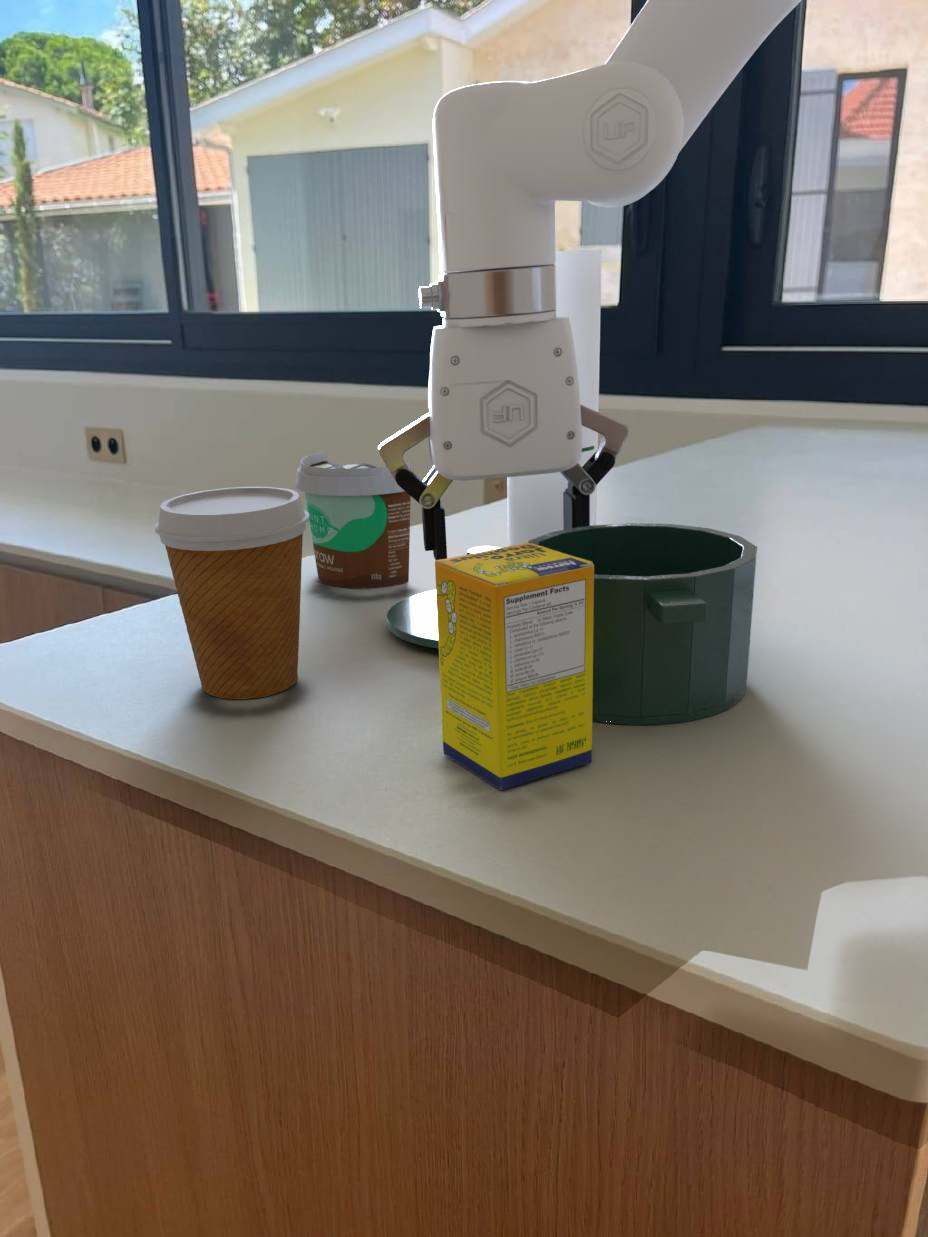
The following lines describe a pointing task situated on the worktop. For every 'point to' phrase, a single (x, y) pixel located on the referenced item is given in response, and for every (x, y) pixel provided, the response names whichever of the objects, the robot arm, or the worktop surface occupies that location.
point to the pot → (665, 618)
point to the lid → (419, 615)
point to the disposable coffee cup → (238, 584)
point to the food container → (356, 522)
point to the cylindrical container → (579, 299)
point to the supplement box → (516, 661)
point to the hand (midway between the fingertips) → (506, 553)
